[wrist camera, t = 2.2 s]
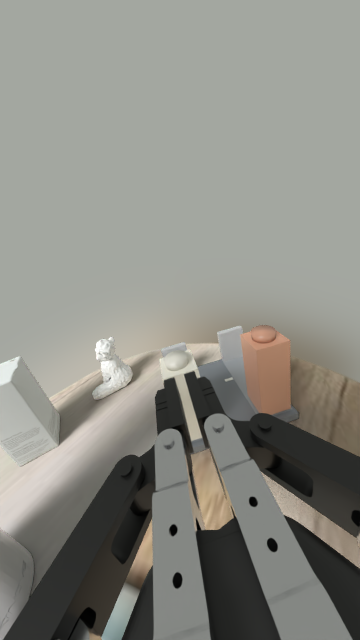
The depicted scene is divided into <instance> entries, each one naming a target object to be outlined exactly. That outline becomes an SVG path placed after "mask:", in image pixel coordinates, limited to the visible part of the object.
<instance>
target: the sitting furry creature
mask: <svg viewBox="0 0 360 640" xmlns="http://www.w3.org/2000/svg"><path fill="white" fill-rule="evenodd" d="M114 341H115V340H114V338H113V337H110V338H109V339H100V340H99V341H98V342H97V343H96V347H97V348H96V349H95V351H96V355H97V358H96V359H97V360H99V361H100V363H101V372H102V377H103V384H101V385H99V386H98V387H96V389H95V390H94V391H93V392H92V393H93V394H92V395H93V397H94V399H95V400H99V399H103V398H104V397H106V396H108V395H110V394H112V393H114V392H116V391H118V390H119V389H121V388H123V387H125V386H126V385H127V384H128V383H129V382H130V381H131V378H132V376H133V373H132V370H131V367H130V366H128V365H126V364H125V363H123V361H121V359H120V358H119V356H117V355H115V354H114V352H115V346H114V344H113V343H114Z"/></svg>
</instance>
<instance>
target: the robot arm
mask: <svg viewBox="0 0 360 640" xmlns="http://www.w3.org/2000/svg"><path fill="white" fill-rule="evenodd" d="M184 377H185V380H186V384H187V387H188V391H189V394H190V398H191V401H192V405H193V408H194V411H195V415H196V418H197V421H198V425H199V428H200V432H201V435H202V438H203V442H204V445H205V448H209V449H210V452H211V455H212V458H213V462H214V465H215V468H216V471H217V474H218V477H219V480H220V483H221V486H222V489H223V492H224V495H225V498H226V501H227V504H228V507H229V510H230V513H231V516H232V519H231V520H230V521H229V522H228V523H227V524H225V525H224V526H223V527H222V528H220V529H219V530H205V526H204V522H203V518H202V514H201V509H200V504H199V498H198V493H197V488H196V483H195V477H194V472H193V468H192V460H191V456H190V454H191V453H194V450H193V446H192V442H191V438H190V433H189V429H188V425H187V421H186V417H185V412H184V408H183V404H182V400H181V397H180V393H179V390H178V387H177V384H176V380H175V377H173V378H169V379H166V380H164V387H165V389H162V390H158V391H157V394H156V396H155V404H156V418H157V431H158V436H157V438H156V440H155V444H154V446H153V447H152V448H151V449H150V450H149V451H148V452H146V453H145V454H143V455H142V456H140V457H138V456H136V455H128V456H125V457H123V458H122V459H121V460H120V461H119V462H118V463H117V464H116V465H115V467H114V469H113V470H112V472H111V473H110V475H109V476H108V478H107V479H106V481H105V482H104V484H103V486H102V487H101V489H100V490H99V492H98V493H97V495H96V496H95V498H94V499H93V501H92V503H91V504H90V506H89V507H88V509H87V510H86V512H85V513H84V515H83V516H82V518H81V520H80V521H79V523H78V524H77V526H76V527H75V529H74V530H73V532H72V533H71V535H70V537H69V538H68V540H67V541H66V543H65V544H64V546H63V547H62V549H61V550H60V552H59V554H58V555H57V557H56V558H55V560H54V561H53V563H52V564H51V566H50V567H49V569H48V571H47V572H46V574H45V575H44V577H43V578H42V580H41V581H40V583H39V584H38V586H37V588H36V589H35V591H34V592H33V594H32V595H31V597H30V598H29V596H30V592H31V588H32V584H33V576H34V562H33V558H32V556H31V553H30V552H29V551H28V550H27V549H26V548H24V547H23V546H22V545H21V544H19V543H18V542H17V541H16V540H14V539H13V538H12V537H10V536H9V535H8V534H7V533H6V532H4V531H3V530H2V529H1V528H0V640H102V639H101V636H102V634H103V632H104V629H105V627H106V625H107V622H108V620H109V618H110V615H111V613H112V611H113V608H114V606H115V603H116V601H117V599H118V596H119V594H120V592H121V589H122V587H123V585H124V582H125V580H126V578H127V575H128V573H129V571H130V568H131V566H132V564H133V561H134V559H135V557H136V554H137V552H138V549H139V547H140V545H141V542H142V540H143V538H144V535H145V533H146V531H147V528H148V526H149V524H150V521H151V519H152V532H153V566H152V567H151V569H150V570H149V572H148V574H147V576H146V578H145V580H144V583H143V585H142V588H141V590H140V593H139V596H138V598H137V601H136V603H135V606H134V609H133V611H132V614H131V617H130V619H129V622H128V624H127V627H126V630H125V632H124V635H123V637H122V640H360V569H359V568H358V567H357V566H355V565H354V564H353V563H351V562H350V561H349V560H348V559H346V558H345V557H344V556H342V555H341V554H340V553H338V552H337V551H336V550H334V549H333V548H332V547H330V546H329V545H328V544H326V543H325V542H324V541H323V540H321V539H320V538H319V537H317V536H316V535H315V534H313V533H312V532H311V531H309V530H308V529H307V528H305V527H304V526H303V525H301V524H300V523H298V522H297V521H295V520H293V519H292V518H289V517H287V516H285V515H283V513H282V512H281V510H280V508H279V506H278V504H277V502H276V500H275V498H274V496H273V495H272V493H271V491H270V489H269V487H268V485H267V483H266V481H265V479H264V477H263V476H262V474H261V472H262V473H264V474H265V475H267V476H268V477H270V478H271V479H272V480H274V481H275V482H277V483H278V484H280V485H281V486H282V487H284V488H285V489H287V490H288V491H290V492H291V493H293V494H294V495H295V496H297V497H298V498H300V499H301V500H303V501H304V502H305V503H307V504H308V505H310V506H311V507H313V508H314V509H316V510H317V511H318V512H320V513H321V514H323V515H324V516H326V517H327V518H328V519H330V520H331V521H333V522H334V523H336V524H337V525H338V526H340V527H341V528H343V529H344V530H346V531H347V532H349V533H350V534H351V535H353V536H354V537H356V538H357V542H358V545H359V548H360V457H358V456H356V455H354V454H352V453H350V452H348V451H346V450H344V449H342V448H339V447H337V446H335V445H333V444H331V443H329V442H327V441H325V440H323V439H321V438H318V437H316V436H314V435H312V434H310V433H308V432H306V431H304V430H302V429H300V428H297V427H295V426H293V425H291V424H289V423H287V422H285V421H283V420H281V419H278V418H276V417H274V416H272V415H270V414H267V413H258V414H255V415H254V416H252V418H251V419H250V421H238V420H234V419H232V418H230V417H228V416H227V415H226V413H225V412H224V410H223V408H222V405H221V403H220V401H219V399H218V397H217V395H216V393H215V390H214V388H213V386H212V384H211V382H210V380H209V379H207V378H206V377H205V376H203V377H200V378H197V377H196V374H195V372H194V371H192V372H189V373H186V374H184ZM260 471H261V472H260ZM28 599H29V600H28Z"/></svg>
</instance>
